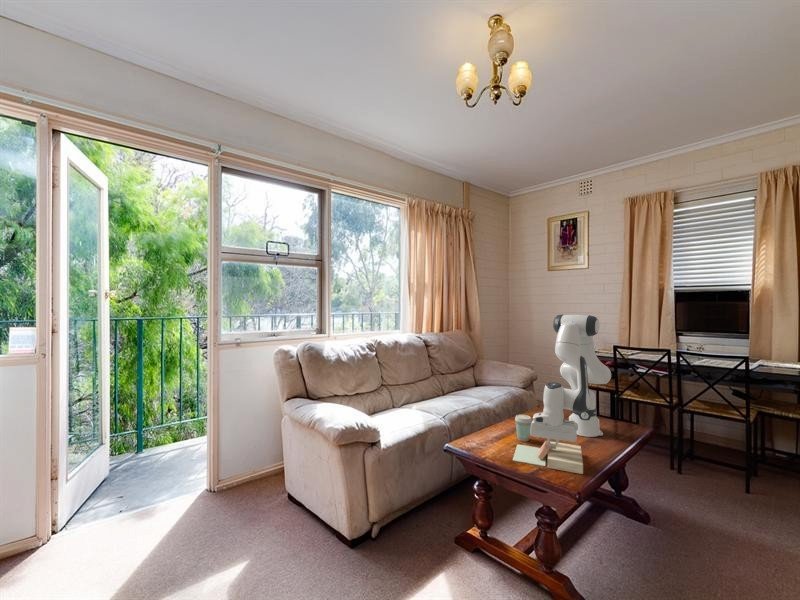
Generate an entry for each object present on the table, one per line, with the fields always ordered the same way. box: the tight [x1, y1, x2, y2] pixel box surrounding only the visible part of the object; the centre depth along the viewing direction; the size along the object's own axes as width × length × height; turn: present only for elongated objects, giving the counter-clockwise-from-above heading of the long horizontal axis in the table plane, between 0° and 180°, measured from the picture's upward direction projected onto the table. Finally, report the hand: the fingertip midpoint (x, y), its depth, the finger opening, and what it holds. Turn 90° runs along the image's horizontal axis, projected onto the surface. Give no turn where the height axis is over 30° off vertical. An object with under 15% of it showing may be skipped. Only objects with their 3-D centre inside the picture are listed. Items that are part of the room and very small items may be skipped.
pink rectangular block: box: [538, 440, 550, 460], centre depth 174 cm, size 9×6×2 cm
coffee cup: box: [514, 414, 533, 442], centre depth 195 cm, size 8×9×12 cm
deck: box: [547, 440, 584, 475], centre depth 170 cm, size 22×14×4 cm, turn 156°
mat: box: [511, 443, 547, 467], centre depth 176 cm, size 20×14×1 cm
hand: (552, 448), depth 172 cm, fingers closed
